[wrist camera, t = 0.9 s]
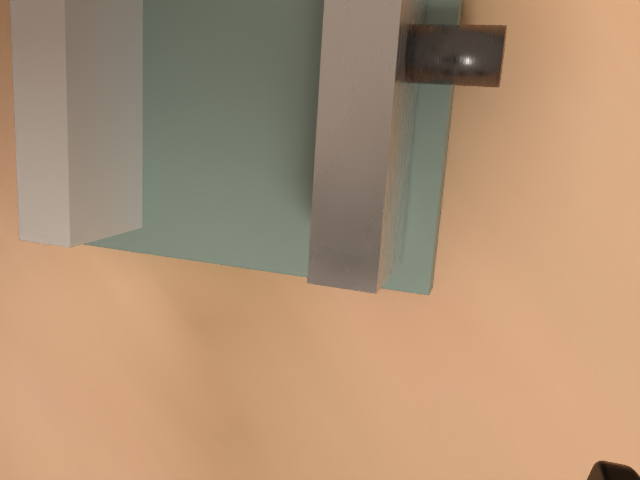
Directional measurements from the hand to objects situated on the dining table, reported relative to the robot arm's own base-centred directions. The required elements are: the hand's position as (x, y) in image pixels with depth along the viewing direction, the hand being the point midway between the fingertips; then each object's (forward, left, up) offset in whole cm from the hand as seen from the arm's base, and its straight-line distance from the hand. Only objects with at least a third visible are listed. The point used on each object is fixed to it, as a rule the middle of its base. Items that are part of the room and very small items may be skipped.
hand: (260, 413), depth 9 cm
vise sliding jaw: (+4, +4, -12) cm, 14 cm away
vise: (0, +9, -13) cm, 16 cm away
